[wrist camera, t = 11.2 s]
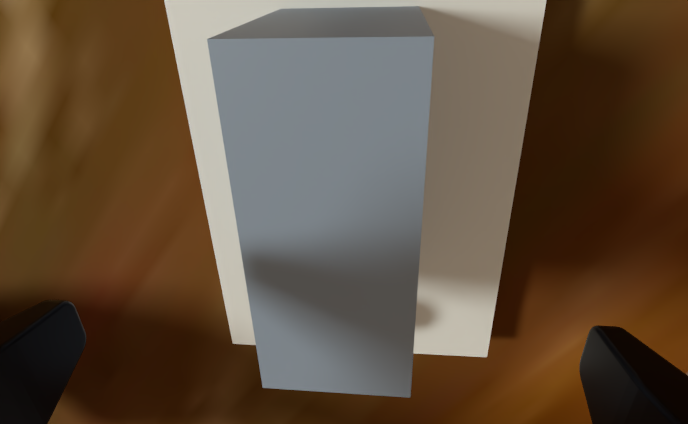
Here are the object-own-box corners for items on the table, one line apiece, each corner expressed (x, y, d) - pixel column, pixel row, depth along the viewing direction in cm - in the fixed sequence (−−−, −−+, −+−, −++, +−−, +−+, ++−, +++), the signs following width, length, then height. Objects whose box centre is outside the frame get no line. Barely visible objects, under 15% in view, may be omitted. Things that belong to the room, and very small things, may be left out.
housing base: (242, 320, 22) (212, 389, 18) (155, -165, 13) (66, -211, 9) (481, 331, 20) (498, 408, 17) (561, -191, 12) (630, -256, 8)
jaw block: (302, 261, 18) (262, 388, 12) (280, 8, 13) (207, 39, 8) (405, 265, 17) (410, 397, 12) (418, 6, 13) (434, 36, 8)
